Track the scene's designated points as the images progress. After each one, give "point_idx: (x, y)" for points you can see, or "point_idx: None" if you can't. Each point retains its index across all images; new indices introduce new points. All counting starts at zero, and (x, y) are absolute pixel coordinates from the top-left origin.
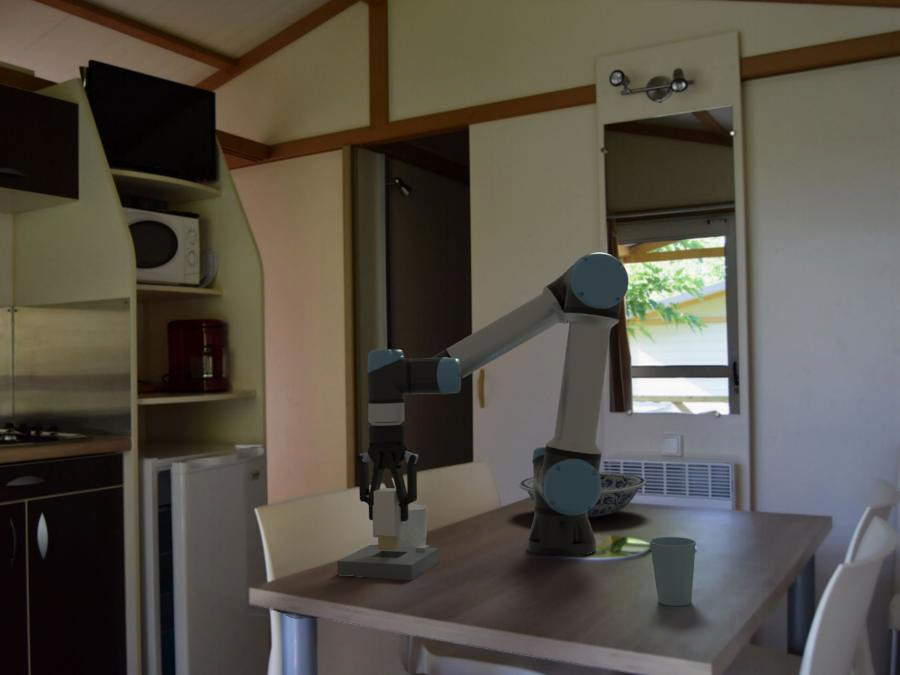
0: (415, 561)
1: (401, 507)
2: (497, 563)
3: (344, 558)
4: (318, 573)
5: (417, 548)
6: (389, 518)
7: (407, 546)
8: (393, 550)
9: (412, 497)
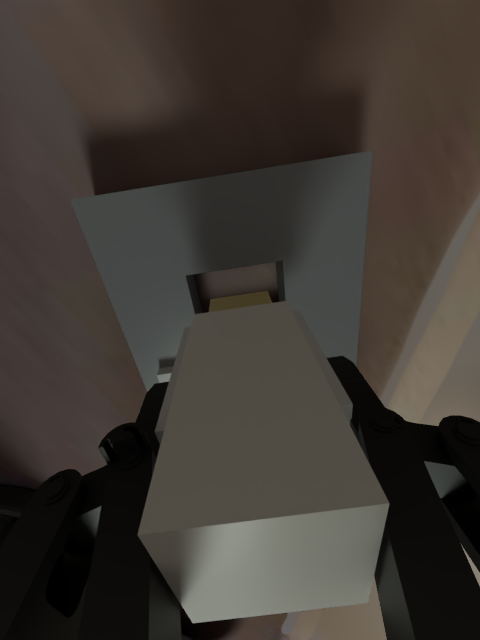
0: (97, 253)
1: (157, 439)
2: (40, 420)
3: (361, 202)
4: (425, 167)
5: None
6: (211, 352)
7: None
8: None
9: (21, 517)
